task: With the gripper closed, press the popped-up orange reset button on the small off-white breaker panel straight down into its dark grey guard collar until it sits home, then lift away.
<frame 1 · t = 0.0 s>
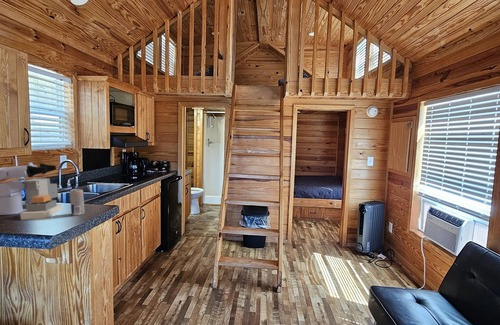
hand: (51, 168, 131), 22 cm above the countertop, tool horizontal, fingers open, 7 cm apart
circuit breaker: (44, 205, 144), on the countertop
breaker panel: (42, 214, 127), on the countertop
energy drink: (78, 214, 128), on the countertop
reset button: (41, 198, 126), point 8 cm above the countertop, slide at 2.8 cm
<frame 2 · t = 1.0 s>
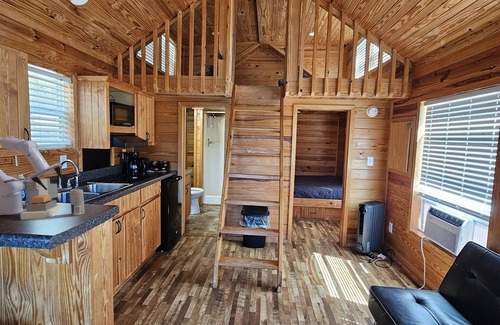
hand: (55, 185, 131), 13 cm above the countertop, tool tilted 30°, fingers open, 7 cm apart
nothing on the countertop moved.
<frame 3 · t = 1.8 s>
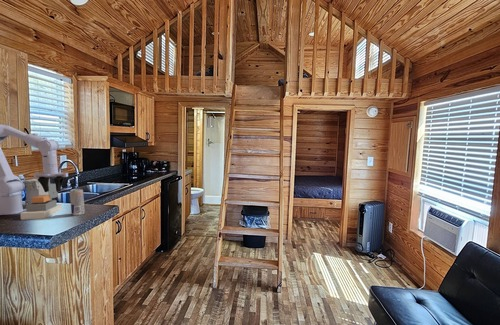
hand: (52, 191, 130), 10 cm above the countertop, tool pointing down, fingers open, 5 cm apart
nothing on the countertop moved.
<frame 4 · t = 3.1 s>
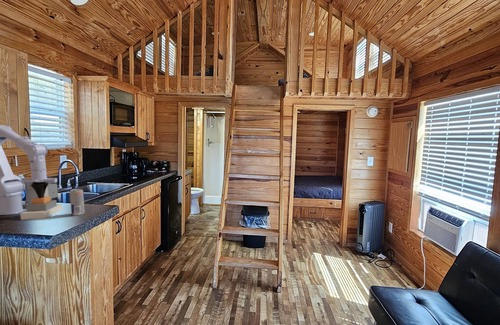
hand: (41, 197, 126), 8 cm above the countertop, tool pointing down, fingers closed, pressing on reset button
reset button: (41, 200, 126), point 7 cm above the countertop, slide at 2.1 cm, touching gripper
everything else where it was.
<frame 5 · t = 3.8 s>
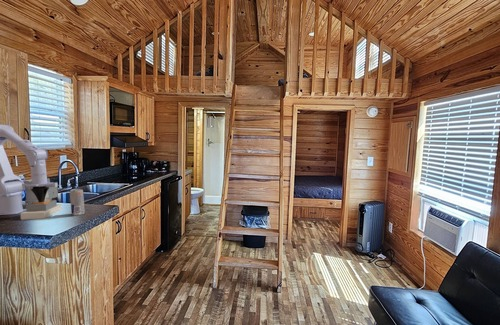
hand: (41, 202, 127), 6 cm above the countertop, tool pointing down, fingers closed, pressing on reset button
reset button: (41, 204, 127), point 5 cm above the countertop, slide at 0.0 cm, touching gripper
everything else where it was.
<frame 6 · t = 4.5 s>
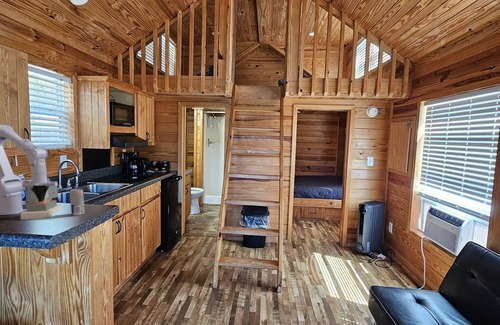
hand: (41, 201, 127), 7 cm above the countertop, tool pointing down, fingers closed
reset button: (41, 204, 127), point 5 cm above the countertop, slide at 0.0 cm
everything else where it was.
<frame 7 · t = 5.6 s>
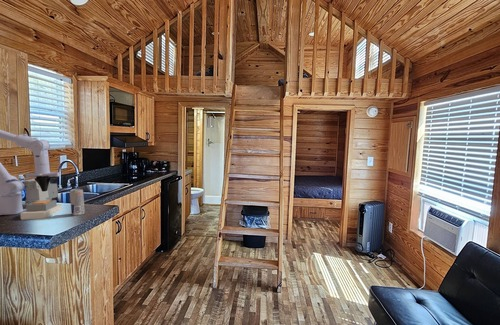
hand: (44, 191, 132), 10 cm above the countertop, tool pointing down, fingers closed
nothing on the countertop moved.
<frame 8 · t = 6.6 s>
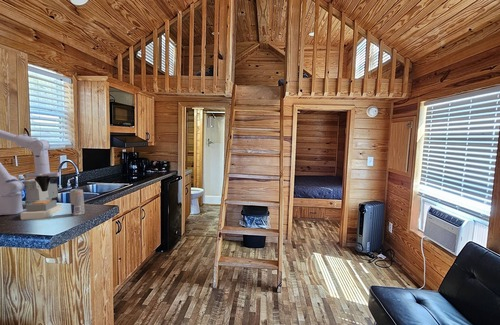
hand: (44, 191, 132), 10 cm above the countertop, tool pointing down, fingers closed
nothing on the countertop moved.
at the end: reset button slide at 0.0 cm; energy drink moved 0.2 cm from its start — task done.
